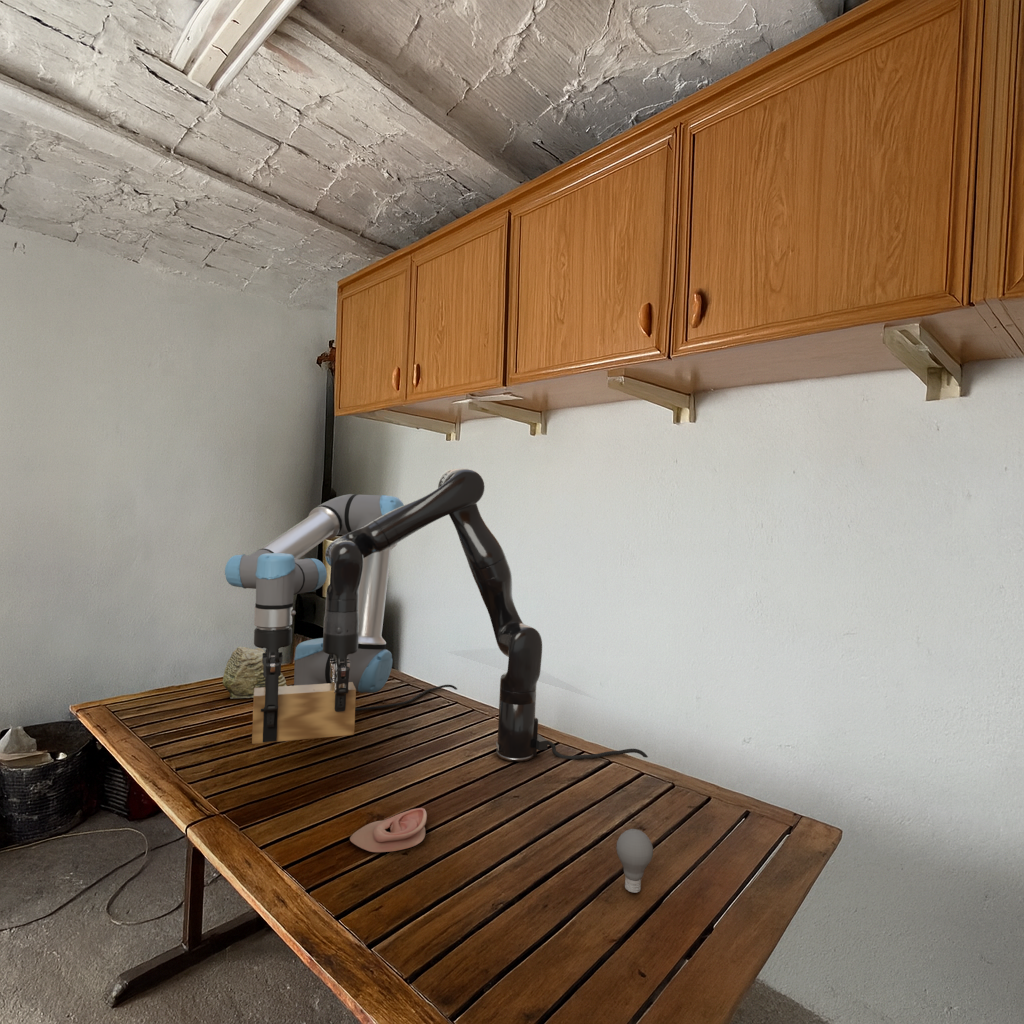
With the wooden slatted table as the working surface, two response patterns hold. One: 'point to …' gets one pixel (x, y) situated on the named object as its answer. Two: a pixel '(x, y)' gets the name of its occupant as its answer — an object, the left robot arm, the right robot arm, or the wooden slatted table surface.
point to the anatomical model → (392, 832)
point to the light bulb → (634, 857)
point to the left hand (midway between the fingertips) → (269, 735)
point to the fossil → (246, 673)
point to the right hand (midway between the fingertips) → (338, 705)
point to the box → (306, 712)
